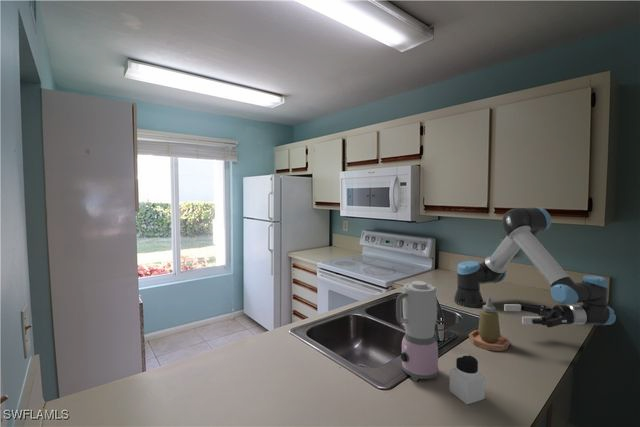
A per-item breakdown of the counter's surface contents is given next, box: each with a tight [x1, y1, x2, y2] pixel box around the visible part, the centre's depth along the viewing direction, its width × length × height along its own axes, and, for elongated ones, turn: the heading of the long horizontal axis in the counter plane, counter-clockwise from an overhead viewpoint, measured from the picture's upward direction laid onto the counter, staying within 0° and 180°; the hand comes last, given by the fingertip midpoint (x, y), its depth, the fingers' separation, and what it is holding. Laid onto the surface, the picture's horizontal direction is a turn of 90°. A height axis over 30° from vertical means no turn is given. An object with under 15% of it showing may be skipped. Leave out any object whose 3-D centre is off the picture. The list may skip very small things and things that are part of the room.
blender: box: [395, 280, 439, 381], centre depth 104 cm, size 16×12×32 cm
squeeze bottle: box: [477, 297, 501, 343], centre depth 125 cm, size 8×8×18 cm
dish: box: [468, 329, 511, 352], centre depth 126 cm, size 14×14×2 cm
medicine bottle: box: [449, 353, 486, 405], centre depth 93 cm, size 7×7×12 cm
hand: (513, 313), depth 124 cm, fingers open, 13 cm apart
